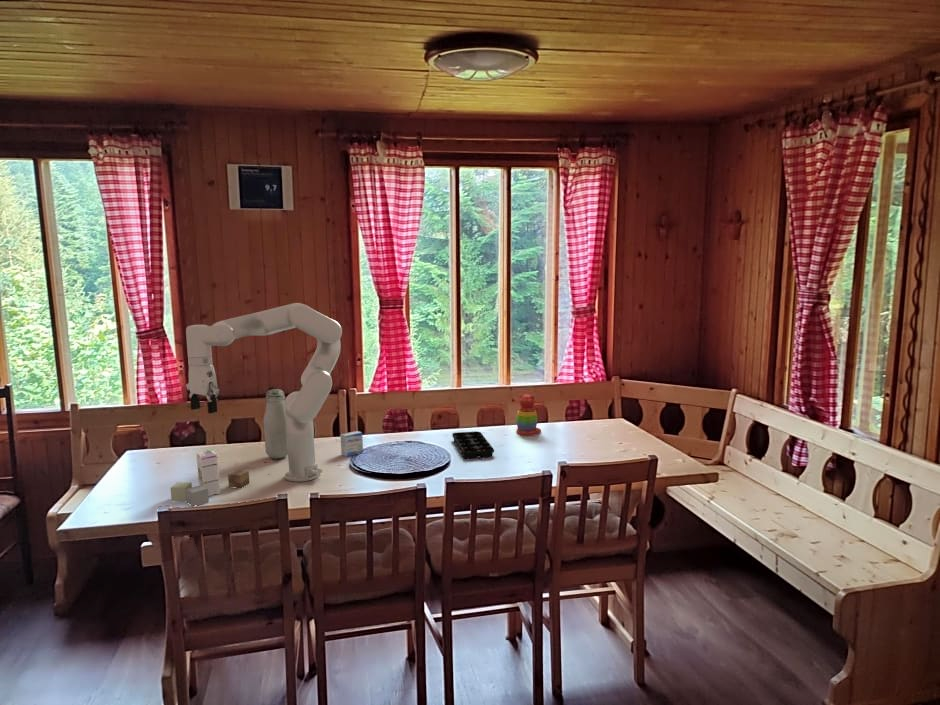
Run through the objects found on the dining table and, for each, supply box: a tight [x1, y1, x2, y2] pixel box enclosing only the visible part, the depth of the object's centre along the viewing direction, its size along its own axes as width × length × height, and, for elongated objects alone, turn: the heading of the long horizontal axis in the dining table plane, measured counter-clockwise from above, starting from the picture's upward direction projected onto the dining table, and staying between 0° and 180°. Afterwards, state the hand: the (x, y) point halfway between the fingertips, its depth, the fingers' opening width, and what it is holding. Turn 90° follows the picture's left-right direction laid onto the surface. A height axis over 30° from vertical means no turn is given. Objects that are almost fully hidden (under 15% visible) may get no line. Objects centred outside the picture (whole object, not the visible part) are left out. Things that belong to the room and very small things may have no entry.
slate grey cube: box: [186, 484, 210, 507], centre depth 221 cm, size 5×5×5 cm
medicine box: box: [339, 430, 364, 458], centre depth 272 cm, size 8×4×9 cm, turn 131°
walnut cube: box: [227, 469, 251, 489], centre depth 237 cm, size 5×5×5 cm
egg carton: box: [451, 431, 495, 460], centre depth 276 cm, size 18×30×4 cm, turn 23°
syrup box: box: [196, 449, 221, 497], centre depth 229 cm, size 6×6×14 cm
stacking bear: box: [515, 393, 542, 437], centre depth 296 cm, size 11×10×18 cm
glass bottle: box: [263, 388, 288, 460], centre depth 266 cm, size 10×10×28 cm
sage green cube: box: [170, 481, 193, 502], centre depth 225 cm, size 5×5×5 cm
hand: (204, 410), depth 228 cm, fingers open, 9 cm apart
